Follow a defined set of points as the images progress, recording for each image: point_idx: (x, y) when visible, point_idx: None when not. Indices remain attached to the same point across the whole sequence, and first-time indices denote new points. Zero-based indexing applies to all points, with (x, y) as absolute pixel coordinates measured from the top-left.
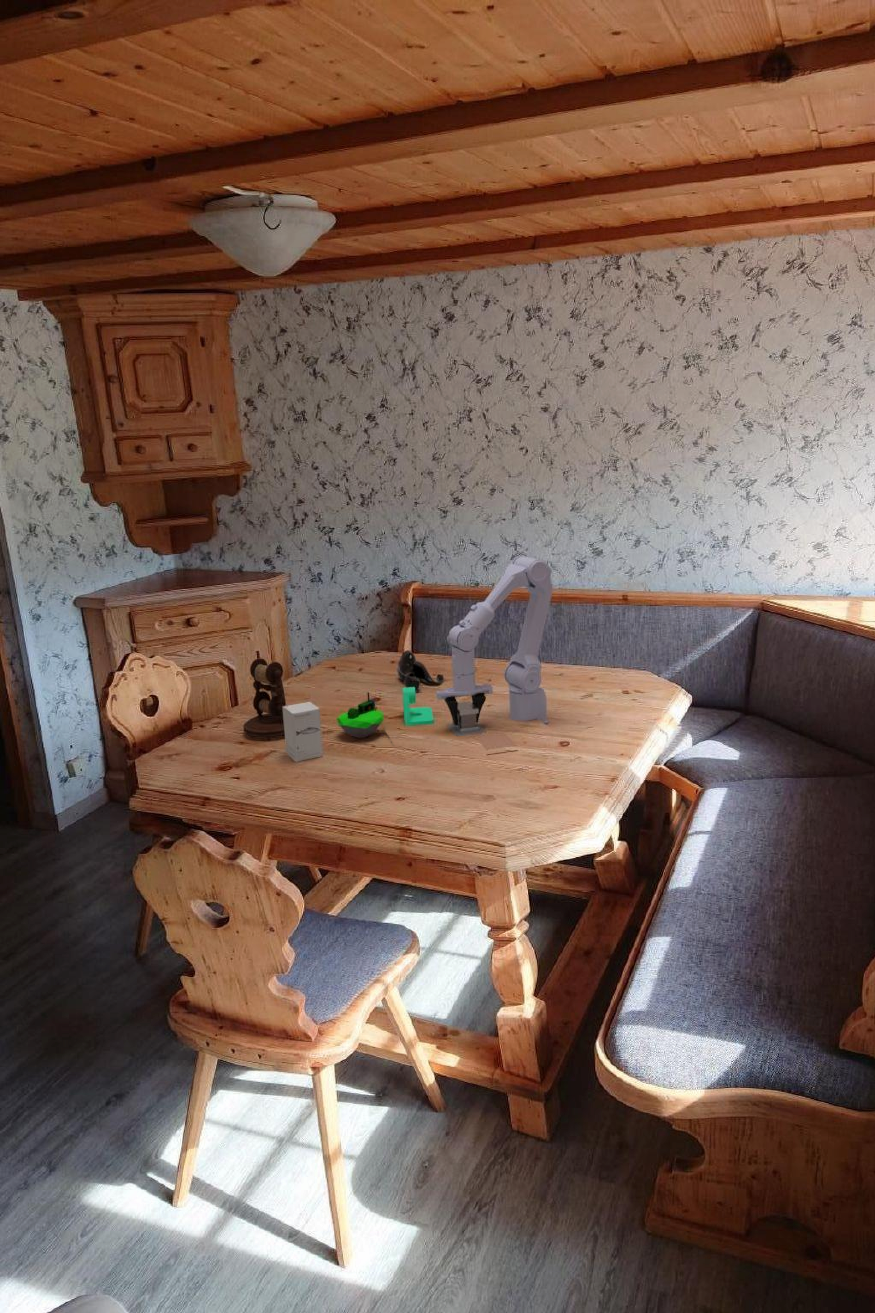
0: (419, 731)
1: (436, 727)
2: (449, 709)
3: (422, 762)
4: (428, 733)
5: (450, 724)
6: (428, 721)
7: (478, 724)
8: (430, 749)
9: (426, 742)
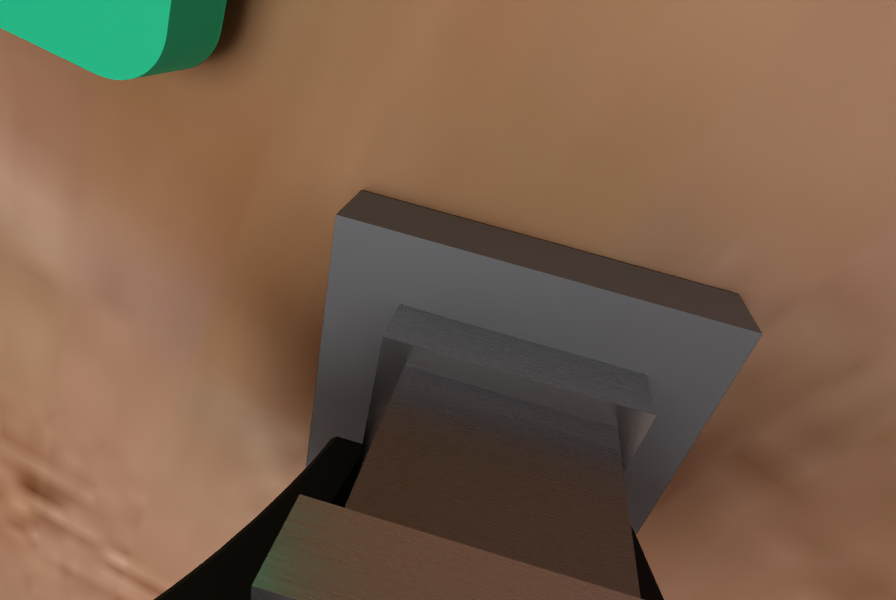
0: None
1: (284, 29)
2: (184, 589)
3: (23, 583)
4: (139, 176)
5: (382, 269)
6: (81, 62)
7: (670, 469)
8: (93, 486)
9: (83, 368)
